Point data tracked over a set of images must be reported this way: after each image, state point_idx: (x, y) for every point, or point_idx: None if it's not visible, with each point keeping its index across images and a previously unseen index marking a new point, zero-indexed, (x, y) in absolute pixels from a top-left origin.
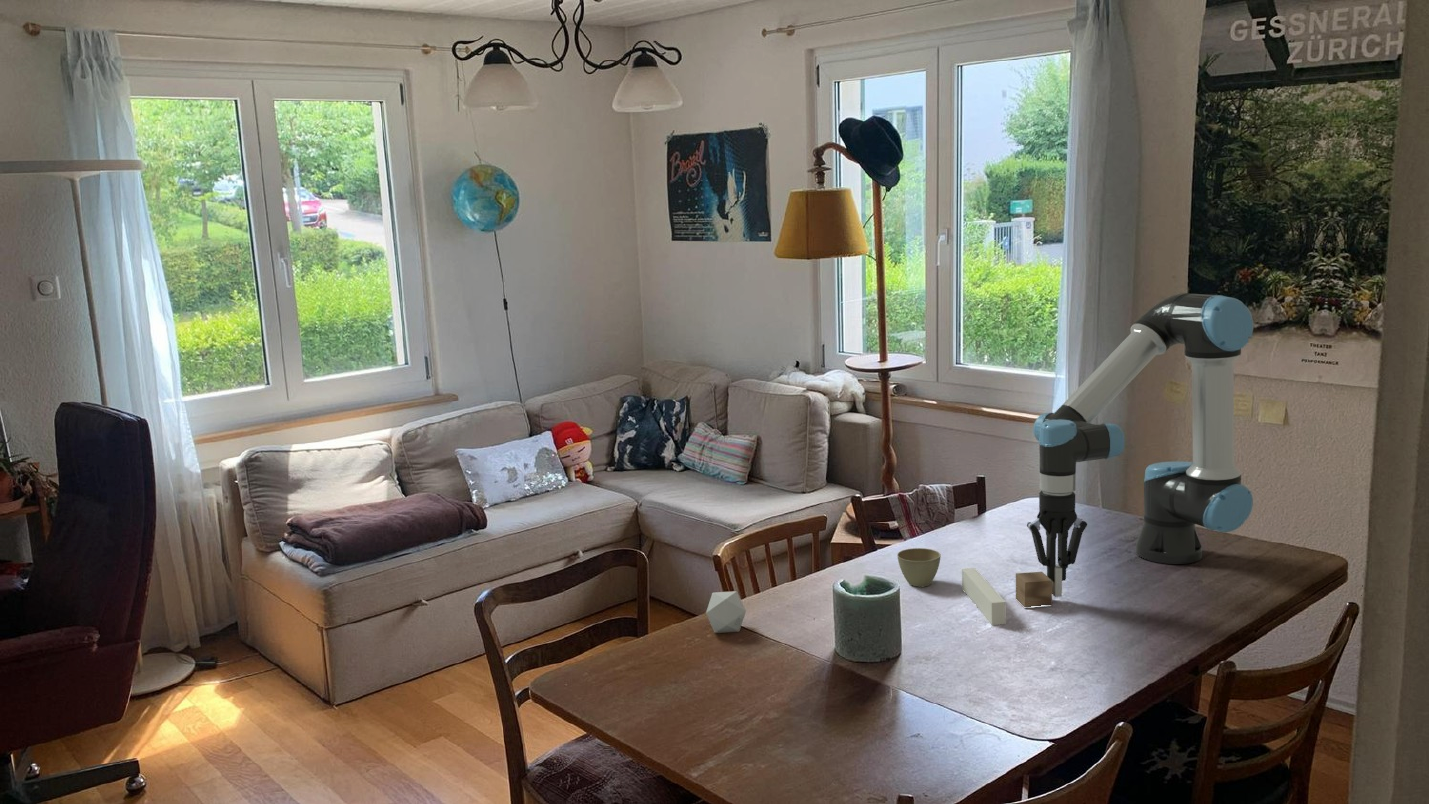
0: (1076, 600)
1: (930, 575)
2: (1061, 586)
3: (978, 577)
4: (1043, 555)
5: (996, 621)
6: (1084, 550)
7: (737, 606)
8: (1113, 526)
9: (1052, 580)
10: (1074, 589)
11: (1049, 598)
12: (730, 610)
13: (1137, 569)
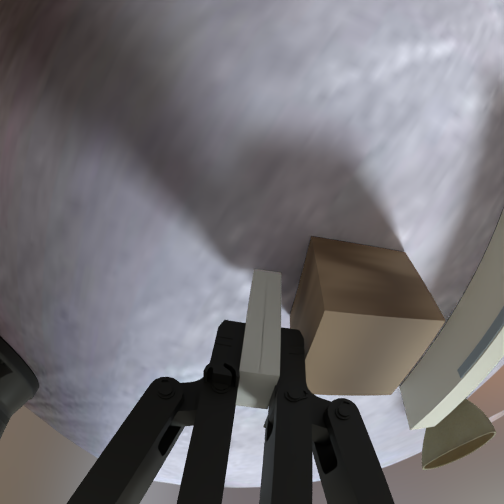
0: (191, 259)
1: (462, 413)
2: (252, 296)
3: (460, 389)
4: (357, 456)
5: None
6: (104, 420)
7: None
8: (68, 430)
9: (288, 331)
10: (164, 328)
11: (325, 255)
12: None
13: (31, 344)
